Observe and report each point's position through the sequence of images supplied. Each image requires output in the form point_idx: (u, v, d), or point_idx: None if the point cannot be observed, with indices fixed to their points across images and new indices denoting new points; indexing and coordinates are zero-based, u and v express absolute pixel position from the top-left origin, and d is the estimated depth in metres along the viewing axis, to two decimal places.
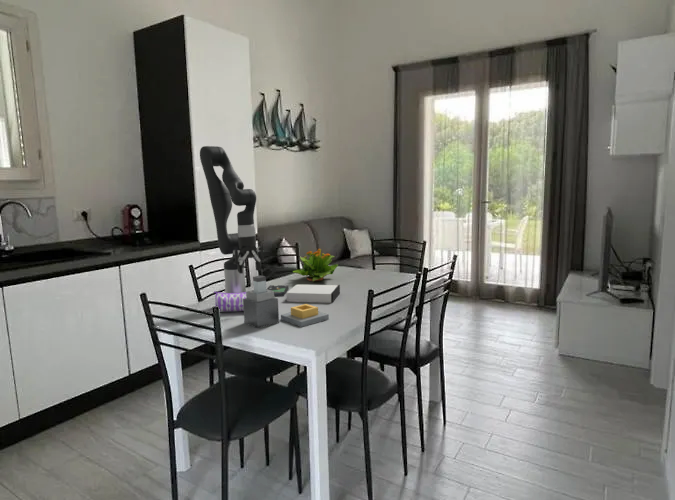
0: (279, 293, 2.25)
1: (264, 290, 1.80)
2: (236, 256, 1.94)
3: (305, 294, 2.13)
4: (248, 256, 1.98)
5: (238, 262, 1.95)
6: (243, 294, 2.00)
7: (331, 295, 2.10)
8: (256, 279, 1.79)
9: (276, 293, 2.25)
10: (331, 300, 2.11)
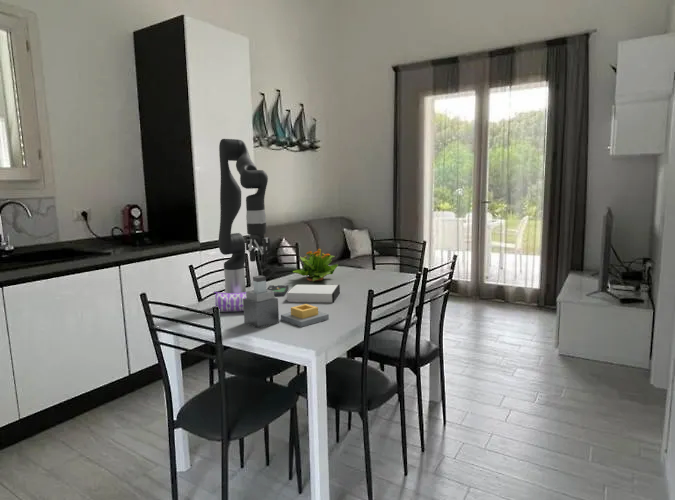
0: (280, 293, 2.25)
1: (264, 290, 1.80)
2: None
3: (306, 294, 2.13)
4: None
5: None
6: (243, 294, 2.00)
7: (332, 295, 2.11)
8: (256, 279, 1.79)
9: (277, 293, 2.25)
10: (332, 300, 2.11)
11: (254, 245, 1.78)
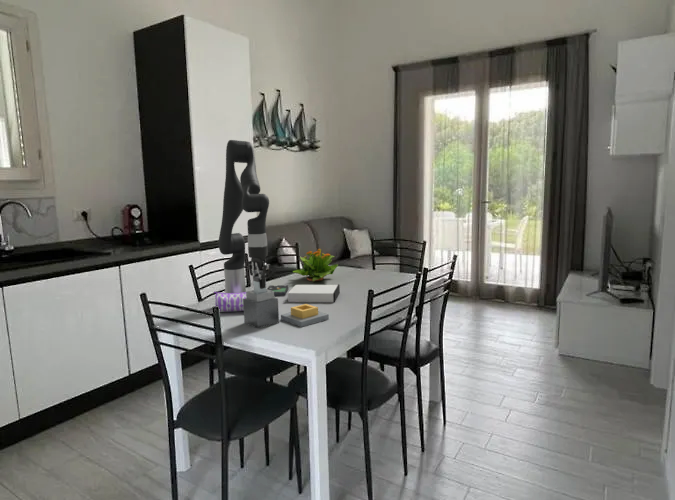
0: (280, 293, 2.26)
1: (264, 290, 1.80)
2: None
3: (307, 294, 2.13)
4: None
5: None
6: (243, 294, 2.00)
7: (333, 295, 2.11)
8: (256, 279, 1.79)
9: (277, 293, 2.26)
10: (333, 300, 2.11)
11: None
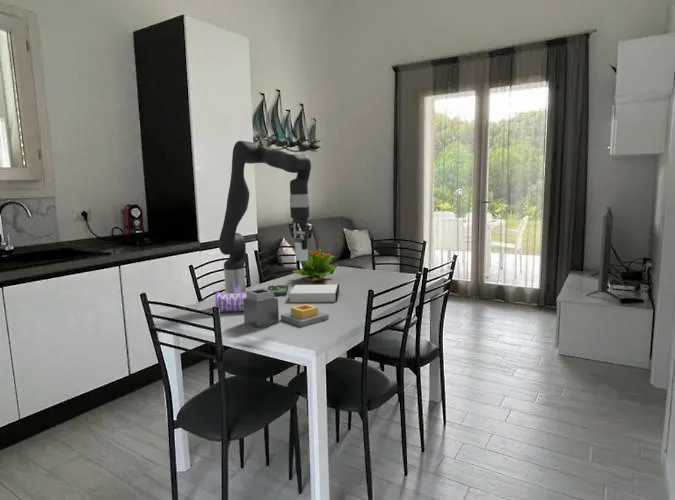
0: (281, 293, 2.26)
1: (306, 251, 1.81)
2: None
3: (309, 294, 2.13)
4: None
5: None
6: (243, 294, 2.00)
7: (335, 294, 2.12)
8: (298, 240, 1.80)
9: (278, 293, 2.26)
10: (335, 299, 2.12)
11: (298, 228, 1.80)
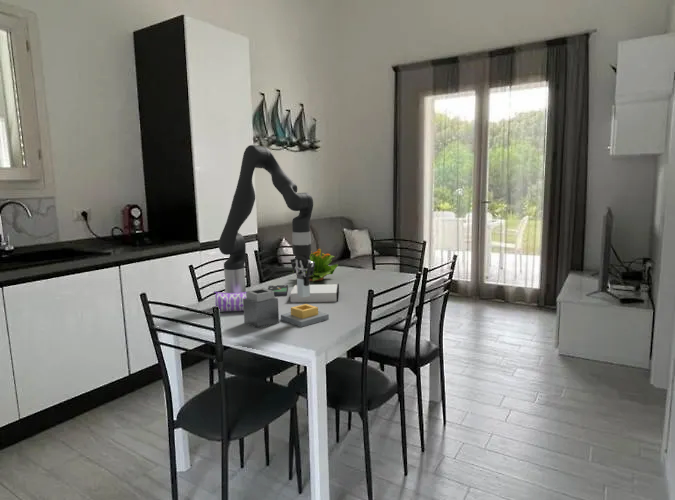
0: (282, 293, 2.26)
1: (308, 287, 1.84)
2: None
3: (310, 294, 2.13)
4: None
5: None
6: (243, 294, 2.00)
7: (336, 294, 2.12)
8: (300, 276, 1.82)
9: (279, 293, 2.26)
10: (336, 299, 2.13)
11: (300, 265, 1.82)
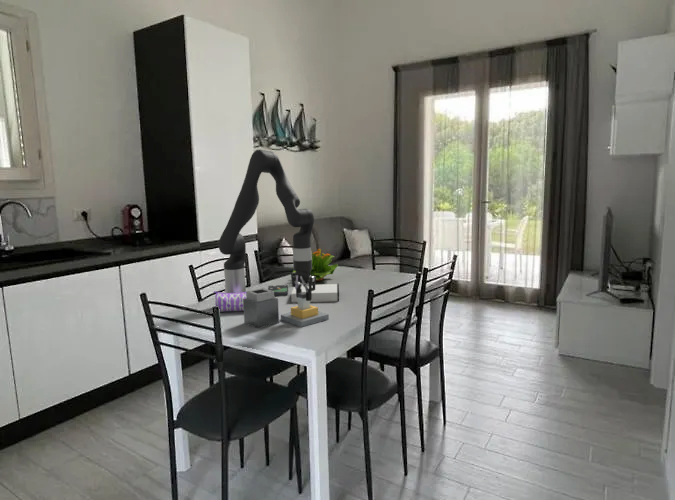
0: (283, 293, 2.26)
1: (308, 306, 1.85)
2: None
3: None
4: None
5: None
6: (243, 294, 2.00)
7: (337, 294, 2.13)
8: (301, 296, 1.83)
9: (280, 293, 2.26)
10: (337, 298, 2.13)
11: (300, 281, 1.83)
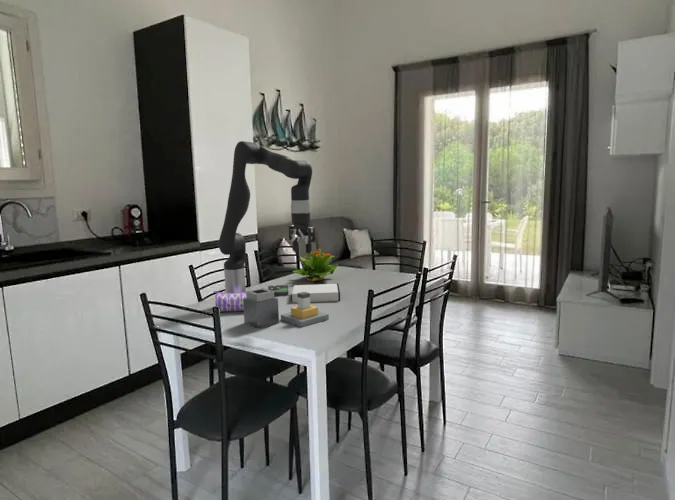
0: (283, 293, 2.26)
1: (308, 306, 1.85)
2: None
3: (312, 294, 2.13)
4: None
5: None
6: (243, 294, 2.01)
7: (338, 293, 2.13)
8: (301, 296, 1.83)
9: (280, 293, 2.26)
10: (338, 298, 2.14)
11: (298, 235, 1.81)
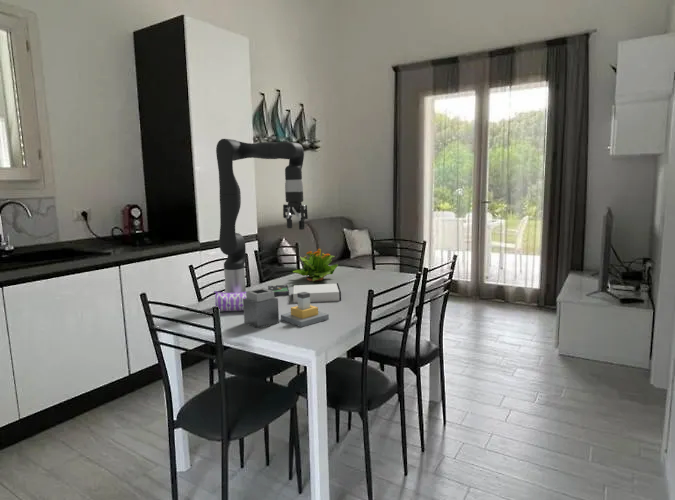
0: (284, 292, 2.26)
1: (308, 306, 1.85)
2: None
3: (313, 294, 2.13)
4: None
5: None
6: (243, 294, 2.01)
7: (339, 293, 2.14)
8: (301, 296, 1.83)
9: (281, 293, 2.26)
10: (339, 298, 2.14)
11: (292, 212, 1.92)
